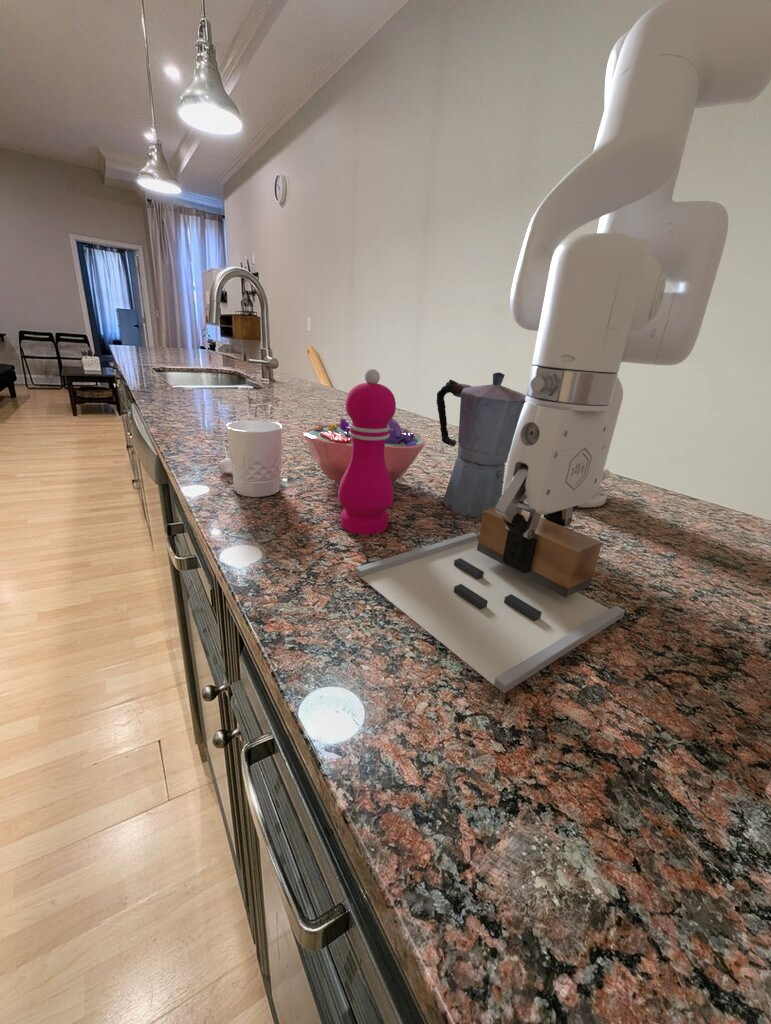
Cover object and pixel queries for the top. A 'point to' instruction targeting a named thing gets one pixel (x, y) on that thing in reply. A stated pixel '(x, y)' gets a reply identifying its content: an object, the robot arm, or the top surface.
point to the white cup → (255, 456)
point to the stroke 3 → (522, 607)
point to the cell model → (336, 448)
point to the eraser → (546, 553)
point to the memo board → (486, 609)
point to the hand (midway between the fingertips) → (531, 560)
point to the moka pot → (480, 443)
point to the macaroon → (225, 466)
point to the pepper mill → (367, 458)
